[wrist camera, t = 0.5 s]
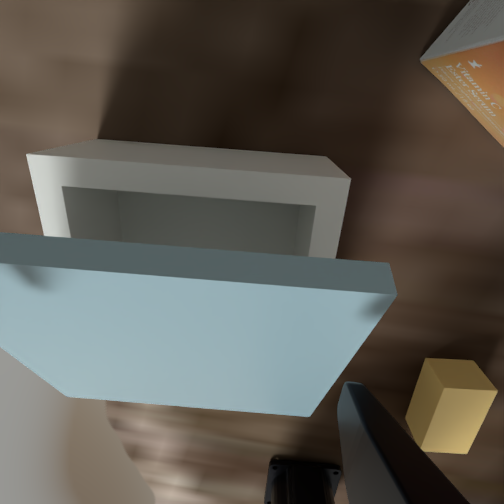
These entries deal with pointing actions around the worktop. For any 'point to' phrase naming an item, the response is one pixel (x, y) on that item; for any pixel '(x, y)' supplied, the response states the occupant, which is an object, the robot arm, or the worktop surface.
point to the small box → (474, 62)
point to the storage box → (191, 197)
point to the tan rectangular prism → (449, 405)
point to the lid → (186, 321)
